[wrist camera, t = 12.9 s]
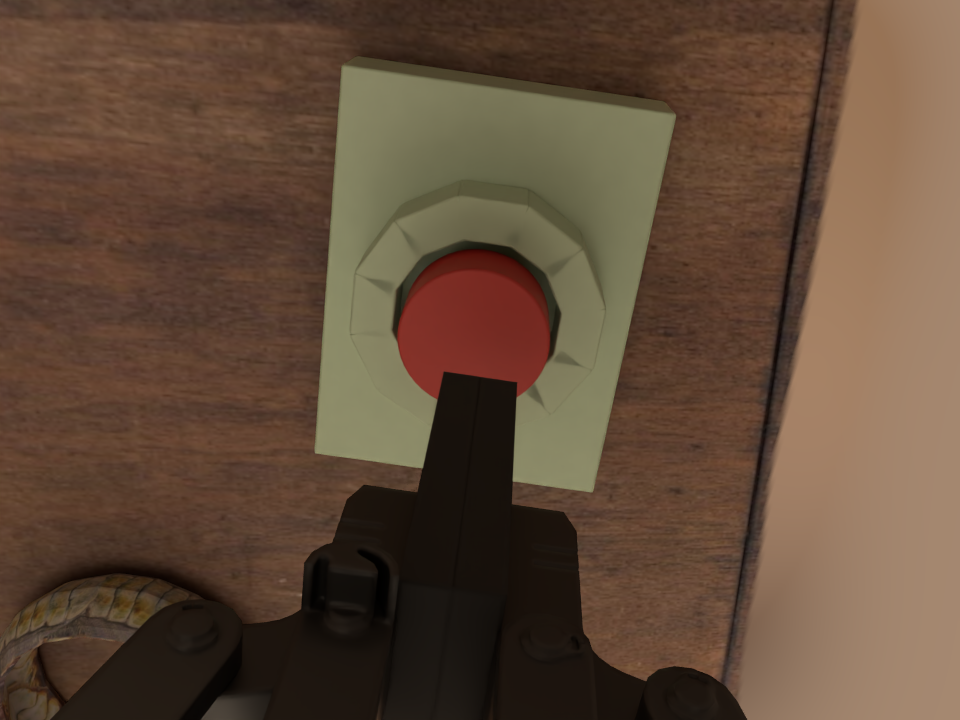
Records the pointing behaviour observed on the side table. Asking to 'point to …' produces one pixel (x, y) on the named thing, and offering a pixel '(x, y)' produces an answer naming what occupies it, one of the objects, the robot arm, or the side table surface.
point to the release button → (474, 321)
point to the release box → (485, 247)
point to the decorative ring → (73, 632)
